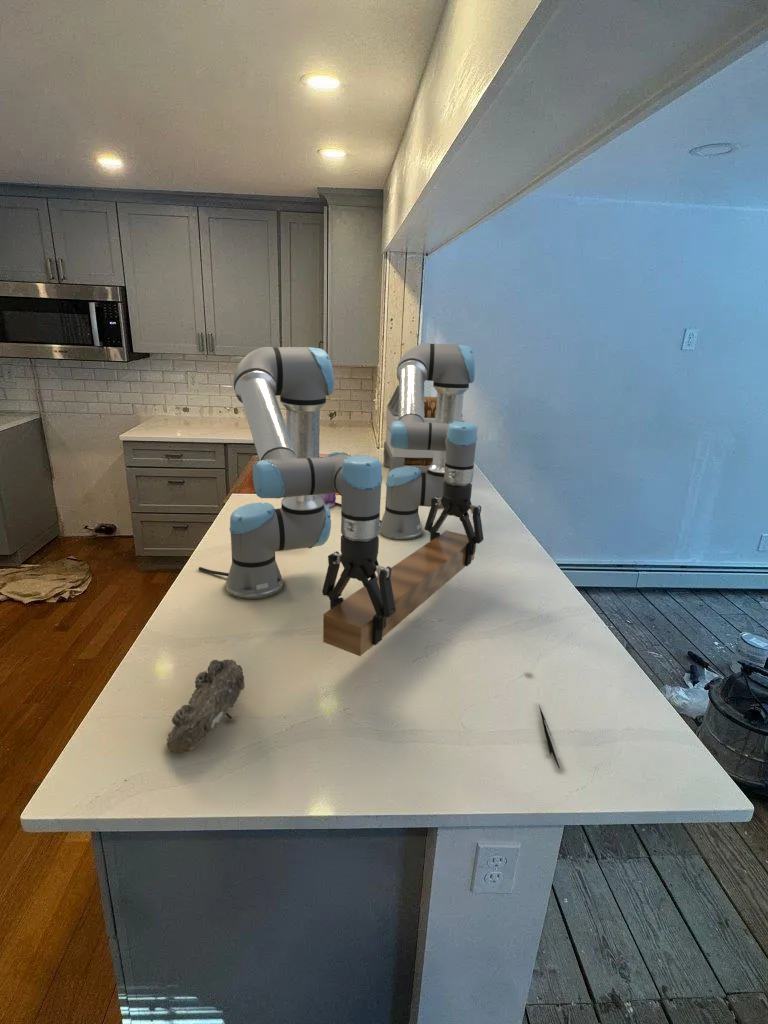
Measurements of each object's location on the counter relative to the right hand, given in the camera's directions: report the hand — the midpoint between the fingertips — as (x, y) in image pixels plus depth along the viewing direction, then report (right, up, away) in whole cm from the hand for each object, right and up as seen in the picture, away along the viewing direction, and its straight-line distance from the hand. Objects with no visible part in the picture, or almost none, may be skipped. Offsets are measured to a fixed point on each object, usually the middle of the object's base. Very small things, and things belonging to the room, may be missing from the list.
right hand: (451, 559), depth 157 cm
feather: (+13, -27, -45) cm, 54 cm away
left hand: (-24, -12, -38) cm, 47 cm away
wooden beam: (-12, -7, -19) cm, 23 cm away
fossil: (-51, -26, -49) cm, 75 cm away
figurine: (-42, +16, +68) cm, 81 cm away
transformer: (-1, +32, +118) cm, 122 cm away
